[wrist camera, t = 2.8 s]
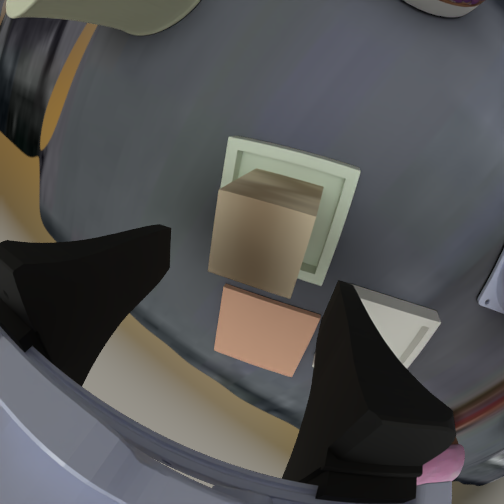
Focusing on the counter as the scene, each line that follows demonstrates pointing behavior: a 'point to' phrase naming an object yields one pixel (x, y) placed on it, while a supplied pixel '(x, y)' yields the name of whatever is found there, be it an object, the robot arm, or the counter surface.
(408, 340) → the light grey tray
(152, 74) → the counter surface
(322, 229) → the sage green tray
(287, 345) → the terracotta pad
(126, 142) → the counter surface
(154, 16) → the can
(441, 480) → the cupcake
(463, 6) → the milk bottle
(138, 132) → the counter surface
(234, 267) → the brown block
